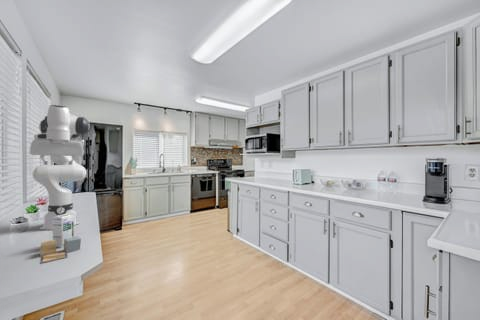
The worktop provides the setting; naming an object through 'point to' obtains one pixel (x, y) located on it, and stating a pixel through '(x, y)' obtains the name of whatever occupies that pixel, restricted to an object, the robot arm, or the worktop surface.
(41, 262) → the tile
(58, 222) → the syrup box
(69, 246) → the slate cube
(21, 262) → the worktop surface
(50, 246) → the oak cube
